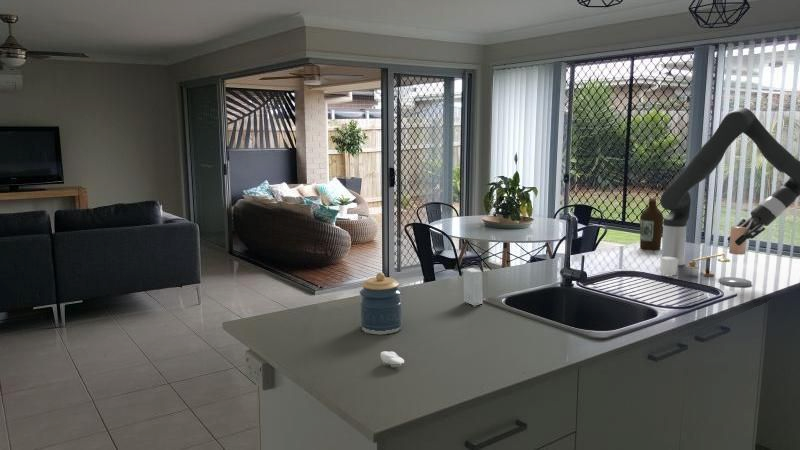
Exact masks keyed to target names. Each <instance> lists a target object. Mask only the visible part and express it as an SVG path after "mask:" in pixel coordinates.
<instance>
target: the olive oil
mask: <svg viewBox="0 0 800 450" xmlns="http://www.w3.org/2000/svg"><path fill="white" fill-rule="evenodd" d="M639 218H640V219H639V221H640V222H639V226H640V227H639V228H640V229H639V230H640V231H639V234H640V235H639V236H640V238H639V242H640V243H639V248H640V249H642V250H647V251H656V250H660V249H661V248H662V237H663V221H664V215H663V212H662V211H661V210H660V209H659V208H658V207H657V198H648V206H647V207H646V208H645V209H644V210H642V212H641V215H640V217H639Z"/></svg>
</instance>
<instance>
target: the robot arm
mask: <svg viewBox="0 0 800 450" xmlns="http://www.w3.org/2000/svg"><path fill="white" fill-rule="evenodd" d="M742 134H745V136H747V137H748V138H749V139H751V141H752V142H753V143H754V144H755V145H756V146H757V148H758V150H759V152H760V153H761V155H762V156H763V158H764V159H765V160H766V161H767V162H768V163H769V164H770V165H772V167H774V168H775V170H777V171H779V172H780V173H782V174H783V173H784V174H785V175H787V176H788V177H789V178H788V179H787V180H786V182H784V183H783V184H782V185H781V186H780V187H779V188H777V189H776V190H775V191H774V192H773V193H771V195H770V196H768V197H767V198H765V199H764V200H763V201H761V202H760V203H759V204H758V205H757V206H756V207H755V208H754V209H753V210H751V212H750V215H751V217H750V218H748V219H747V220H746V219H745V218H743V219H741V220H740V221H739V222H738V223H737V224H736V226H741V227H746V231H745V232H744V233H743V235H741V236H740V237H739V238H738V239H737V240H736V241H735V243H736V244H737V245H739V246H740V245H741V244H742V243H743V242H744V241H745V240H746V241H747V240H753V239H755V237H757V236H759V235H760V234H761V233H762V232H764V231H765V230H766V227H768V226H769V225H771V224H772V223H773V222H774V221H775V220H776V219H777V218H778V217H779V216H780V215H782V213H784V211H785V210H786V209H787V208H789V207H790V206H791V205H792V204H793V203H794V202H795V201H796V199H797V198H798V197H800V160H798V158H796V157H795V156H794V155H792V153H791V152H789V151H788V150H787V149H786V148H785V147H784V146H783V145H781V143H779V142H778V140H777V139H776V138H775V137H773V136H772V134H771V133H770V132H769V131H768V130H767V129H766V128H765V127H764V125H763V124H762V122H760V120H759V119H758V118H757V116H756V115H755V114H754V113H753V111H752V110H751V109H749V108H747V107H739V108H738V107H737V108H735V109H734V110H732V111H729V112H728V113H727V114H726V115H725V116H724V117H723V119H722V120H721V122H720V124H719V125H718V127H717V128H716V129H715V132H714V133H713V134H712V136H711V137H710V138H709V139H708V140H707V141H706V142H705V143H704V144H703V146H702V147H701V148H700V149H699V150H698V152H697V153H695V155H694V156H693V158H692V159H691V160H690V162H689V163H688V164H687V166H686V167H685V168H684V169H683V171H682V172H681V173H680V174H679V176H678V177H677V178H676V179H675V180H674V181H673V182H672V183H671V184H670V185H669V186H668V187H667V188H666V189H665V190H664V191H663V193H662V194H661V195H660V196H661V197H660V206H661V208H663V209H664V210H666V211H669V213H668V215H667V216H665V217H663V227H662V238H661V257H664V256H670V257H676V258H678V259H679V260H678V266H684V264H685V257H686V256H685V253H686V239H687V237H686V236H687V224H688V220H689V218H690V210H691V203H692V202H691V201H692V198H691V194H690V192H689V191H690V190H691V189H692V188H693V187H695V186H696V185H698V184H699V183H701V182H702V181H704V180H705V179H706V178H707V177H710V175H711V174H712V173H713V172H714V170H715V169H716V168H717V167H718V166H719V164H720V162H721V161H722V159H723V158H724V155H725V154H726V152H727V150H728V148H729V147H730V146H731V145H732V143H734V141H736V139H737V138H738V137H740V136H741V135H742ZM727 241H729V243H730V236H729V237H727Z"/></svg>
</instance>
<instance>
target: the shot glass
mask: <svg viewBox="0 0 800 450" xmlns="http://www.w3.org/2000/svg"><path fill="white" fill-rule="evenodd" d="M659 260H660V274H661V275H662V274H664V275H663V276H665V275H676V276H677V271H678V260H679V259H678V258H676V257H670V256H664V257H662V256H661V257H660V259H659Z"/></svg>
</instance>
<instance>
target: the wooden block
mask: <svg viewBox="0 0 800 450" xmlns="http://www.w3.org/2000/svg"><path fill="white" fill-rule="evenodd" d="M745 231H746V227H741V226H737V225H734V226H732V225H731V226H730V235H729V237H730V242H729V248H728V249H729V250H728V253H729V254H731V255H737V256H738V255H739V256H742V255H745V254H746V251H747V249H746V248H747V240H745V241H744V242H743V243H742V244H741V245H740V246H739V245H737V244H736V243H735V241H736V240H737V239H738V238H739V237H740V236H741V235H743V233H744V232H745Z"/></svg>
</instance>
